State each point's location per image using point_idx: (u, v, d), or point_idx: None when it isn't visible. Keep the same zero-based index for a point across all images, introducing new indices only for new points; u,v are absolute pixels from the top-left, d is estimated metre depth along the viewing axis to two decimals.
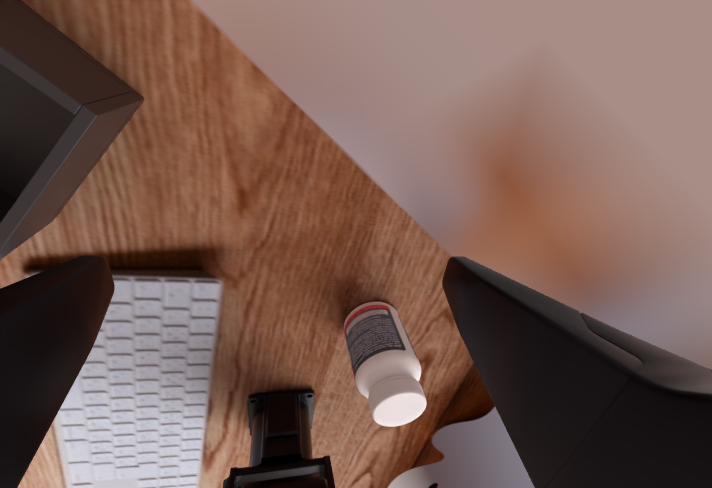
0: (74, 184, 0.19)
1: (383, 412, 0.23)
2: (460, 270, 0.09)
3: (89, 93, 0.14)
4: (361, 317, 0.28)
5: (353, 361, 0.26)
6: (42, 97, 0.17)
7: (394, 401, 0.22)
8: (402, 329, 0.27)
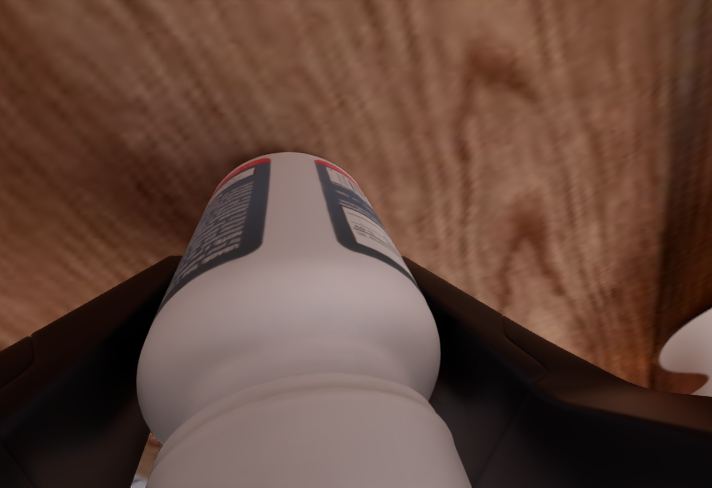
0: None
1: None
2: None
3: None
4: None
5: None
6: None
7: None
8: (305, 186, 0.07)
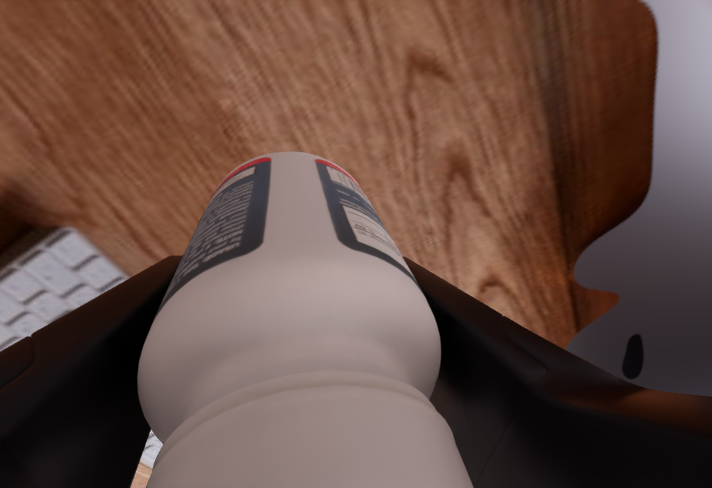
0: None
1: None
2: None
3: None
4: None
5: None
6: None
7: None
8: (305, 185, 0.07)
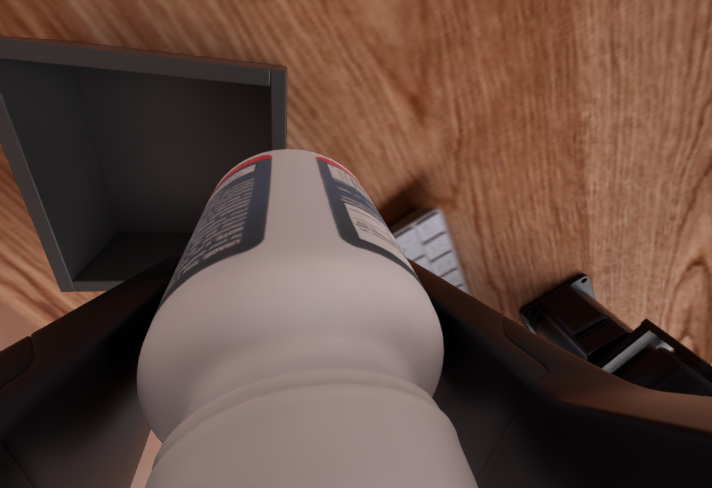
0: None
1: None
2: None
3: (262, 66, 0.13)
4: None
5: None
6: (222, 128, 0.18)
7: None
8: (306, 182, 0.07)
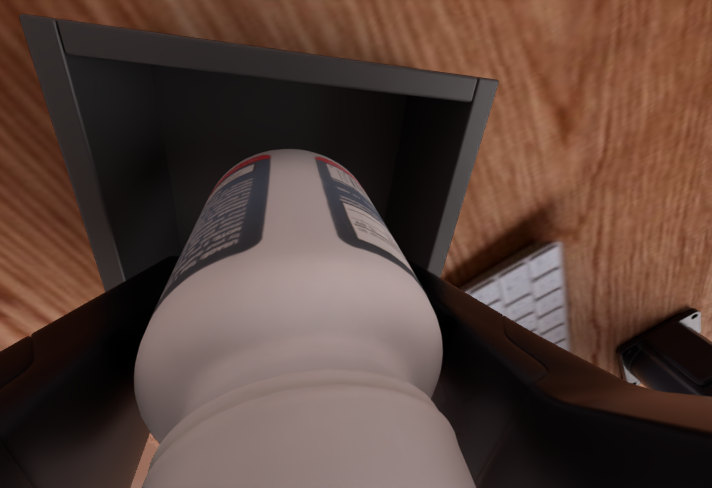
0: None
1: None
2: None
3: None
4: None
5: None
6: (332, 149, 0.13)
7: None
8: (305, 182, 0.07)
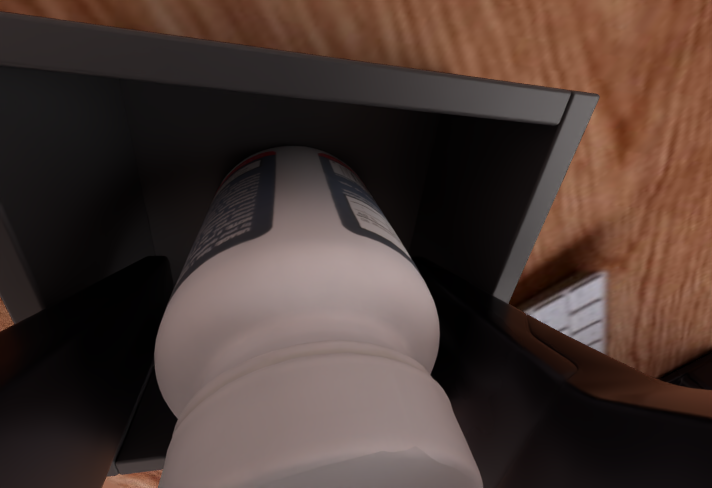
0: None
1: None
2: None
3: None
4: None
5: None
6: None
7: None
8: (310, 177, 0.08)
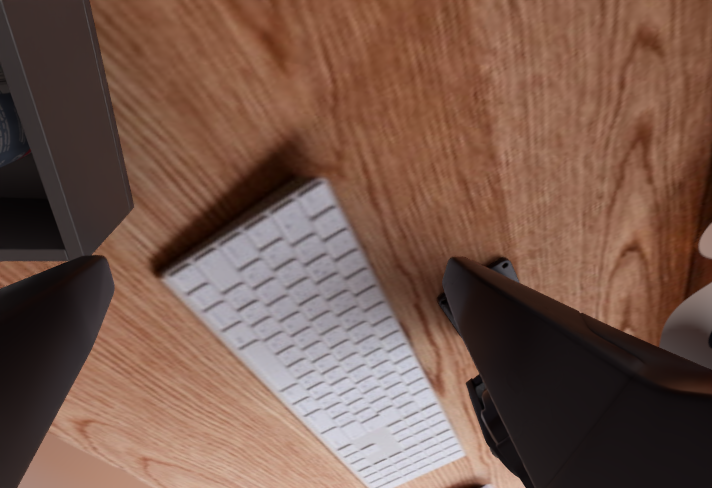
0: (107, 142, 0.16)
1: None
2: (460, 270, 0.09)
3: None
4: None
5: None
6: None
7: None
8: None
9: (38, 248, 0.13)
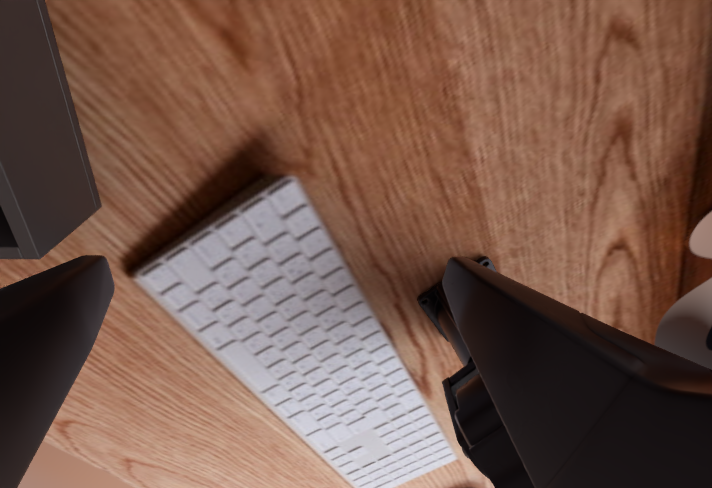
0: (67, 141, 0.16)
1: None
2: (460, 270, 0.09)
3: None
4: None
5: None
6: None
7: None
8: None
9: None
